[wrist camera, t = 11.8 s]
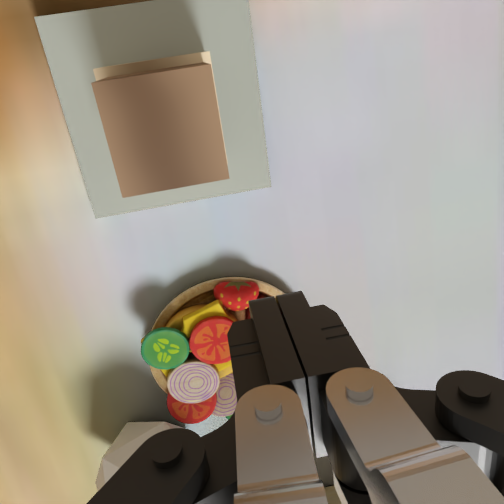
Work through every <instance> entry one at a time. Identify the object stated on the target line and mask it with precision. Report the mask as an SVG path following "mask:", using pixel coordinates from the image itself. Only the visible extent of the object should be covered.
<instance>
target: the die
mask: <svg viewBox="0 0 504 504" xmlns="http://www.w3.org/2000/svg"><path fill="white" fill-rule="evenodd" d="M173 428H183V427H180V426H177V425H173V424H170V423H167V422H127V423H126V425H125V426H124V428H123V429H122V430H121V432H120V433H119V435H118V436H117V438H116V439H115V440H114V442H113V443H112V445H111V446H110V447H109V449H108V450H107V452H106V453H105V455H104V456H103V457H102V461H101V464H100V468H99V471H98V475H97V479H96V482H95V483H96V486H97V490H98V491H99V490H100V489H101V488H102V487H103V486H104V485H105V483H106V482H107V481H108V480H109V479H110V478H111V477H112V476H113V475H114V474H115V473H116V472H117V470H118V469H119V468H120V467H121V466H122V465H123V464H124V463H125V462H126V461H127V460H128V459H129V458H130V456H131V455H132V454H133V453H134V452H135V451H136V450H137V449H138V448H139V447H140V446H141V445H142V444H143V443H144V442H145V441H146V440H147V439H148V438H150V437H151V436H153V435H155V434H156V433H159V432H161V431H164V430H167V429H173ZM184 429H185V428H184Z"/></svg>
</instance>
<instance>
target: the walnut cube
mask: <svg viewBox="0 0 504 504" xmlns="http://www.w3.org/2000/svg"><path fill="white" fill-rule="evenodd" d="M91 85H92V88H93V92H94V96H95V99H96V103H97V107H98V110H99V114H100V118H101V121H102V125H103V129H104V132H105V136H106V139H107V143H108V147H109V150H110V154H111V158H112V161H113V165H114V169H115V172H116V176H117V180H118V183H119V187H120V191H121V194H122V198H126V197H131V196H137V195H143V194H148V193H154V192H159V191H165V190H170V189H176V188H181V187H187V186H192V185H198V184H203V183H209V182H214V181H220V180H226V179H230V178H229V171H228V165H227V159H226V153H225V147H224V141H223V135H222V129H221V123H220V117H219V111H218V105H217V99H216V93H215V86H214V80H213V74H212V68H211V64H209V63H205V62H201V63H195V64H188V65H182V66H176V67H169V68H163V69H156V70H150V71H144V72H137V73H131V74H124V75H118V76H112V77H106V78H104V79H101V80H98V81H95V82H92V83H91Z"/></svg>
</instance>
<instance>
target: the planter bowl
mask: <svg viewBox="0 0 504 504" xmlns="http://www.w3.org/2000/svg"><path fill="white" fill-rule="evenodd" d="M324 489H325V493H326V497H327V502H328V504H342V503H341V501H340V498H339V496H338V494H337V492H336V489H335V486H329V487H325V488H324Z"/></svg>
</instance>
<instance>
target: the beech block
mask: <svg viewBox="0 0 504 504" xmlns="http://www.w3.org/2000/svg"><path fill="white" fill-rule="evenodd" d="M201 62H205V63H209V64H211V68H212V62H211V56H210V51H205V52H198V53H192V54H185V55H178V56H172V57H165V58H159V59H152V60H145V61H139V62H132V63H126V64H119V65H112V66H106V67H100V68H95V69H93V72H94V75H95V79H96V81H98V80H101V79H104V78H106V77H112V76H118V75H124V74H131V73H137V72H144V71H150V70H156V69H163V68H169V67H176V66H182V65H188V64H195V63H201ZM212 74H213V69H212ZM213 80H214V75H213ZM214 86H215V81H214ZM215 93H216V87H215ZM216 99H217V93H216ZM217 105H218V100H217ZM218 111H219V106H218ZM219 117H220V112H219ZM220 123H221V118H220ZM221 129H222V124H221ZM222 135H223V131H222ZM223 141H224V137H223ZM224 147H225V143H224ZM225 153H226V149H225ZM226 159H227V155H226ZM227 165H228V162H227Z"/></svg>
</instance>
